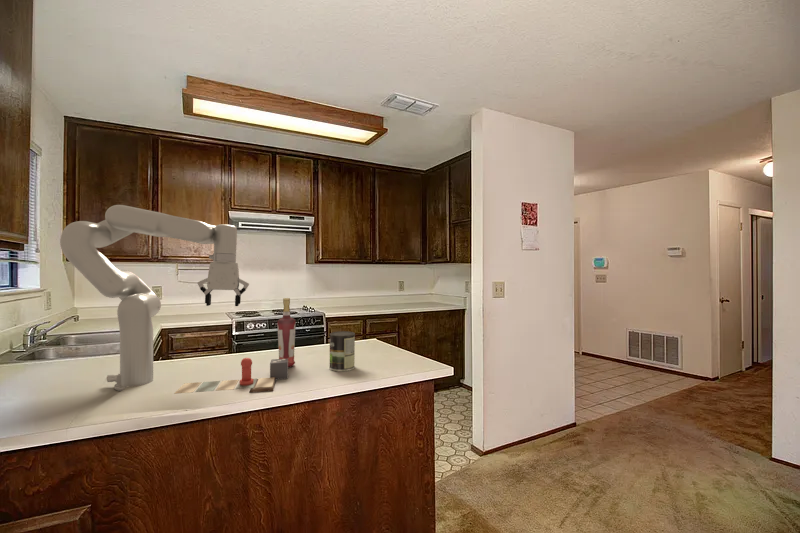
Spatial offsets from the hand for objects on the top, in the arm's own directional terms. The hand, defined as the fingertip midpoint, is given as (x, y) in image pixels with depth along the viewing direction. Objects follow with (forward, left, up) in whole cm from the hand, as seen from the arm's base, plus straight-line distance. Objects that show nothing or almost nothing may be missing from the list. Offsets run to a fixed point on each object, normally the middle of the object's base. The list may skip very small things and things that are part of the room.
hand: (222, 305), depth 140 cm
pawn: (+10, -12, -26) cm, 30 cm away
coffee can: (+44, +5, -27) cm, 52 cm away
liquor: (+22, +13, -27) cm, 37 cm away
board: (+4, -12, -27) cm, 30 cm away
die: (+20, -2, -27) cm, 33 cm away
